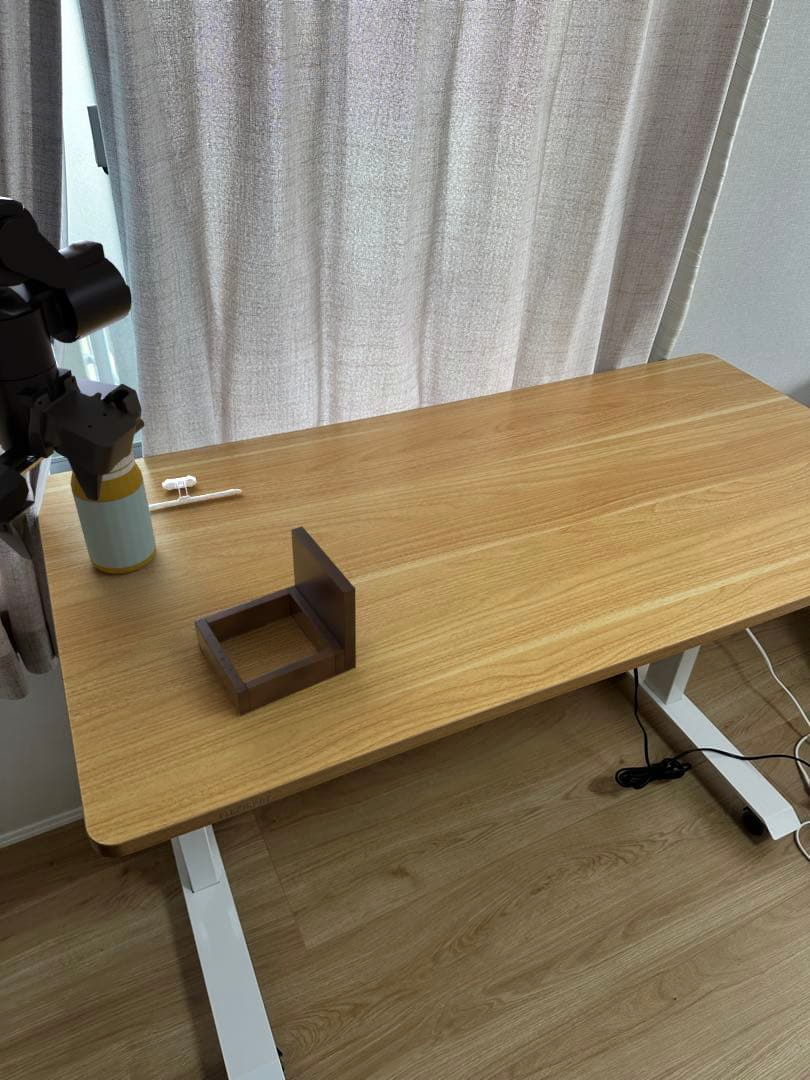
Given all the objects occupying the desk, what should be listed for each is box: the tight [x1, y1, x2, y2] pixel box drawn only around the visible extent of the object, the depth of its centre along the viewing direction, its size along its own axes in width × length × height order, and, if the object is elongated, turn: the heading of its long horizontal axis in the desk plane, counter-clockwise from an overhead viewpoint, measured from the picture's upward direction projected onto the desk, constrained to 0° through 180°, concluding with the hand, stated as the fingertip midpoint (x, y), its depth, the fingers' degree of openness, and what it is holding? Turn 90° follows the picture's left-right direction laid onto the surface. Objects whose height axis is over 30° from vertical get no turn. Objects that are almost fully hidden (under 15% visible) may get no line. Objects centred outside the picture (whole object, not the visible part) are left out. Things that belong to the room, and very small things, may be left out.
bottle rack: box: [193, 525, 357, 717], centre depth 75 cm, size 12×11×10 cm
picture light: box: [148, 475, 243, 511], centre depth 98 cm, size 14×4×2 cm, turn 112°
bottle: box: [70, 446, 157, 575], centre depth 84 cm, size 7×7×15 cm
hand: (62, 527), depth 71 cm, fingers open, 9 cm apart
